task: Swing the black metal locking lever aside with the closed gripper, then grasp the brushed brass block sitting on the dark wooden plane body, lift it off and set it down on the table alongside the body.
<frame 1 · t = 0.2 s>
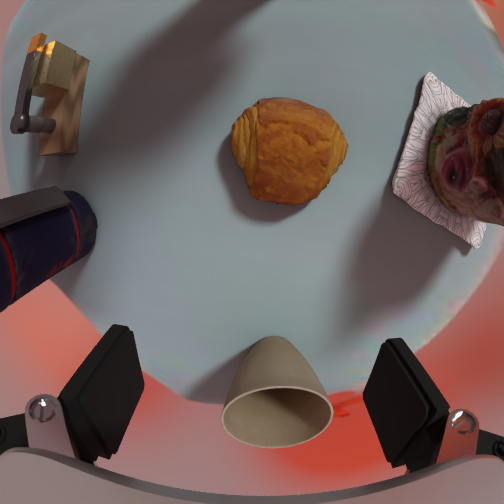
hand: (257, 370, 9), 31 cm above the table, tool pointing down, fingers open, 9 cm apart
croissant: (285, 152, 36), on the table
lever: (26, 81, 21), point 12 cm above the table, hinge at 0.0°
brushed brass block: (58, 74, 27), point 5 cm above the table, touching plane body
cookie jar: (456, 162, 35), on the table
plane body: (71, 106, 33), on the table
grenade: (76, 219, 39), on the table
plant pot: (272, 352, 46), on the table
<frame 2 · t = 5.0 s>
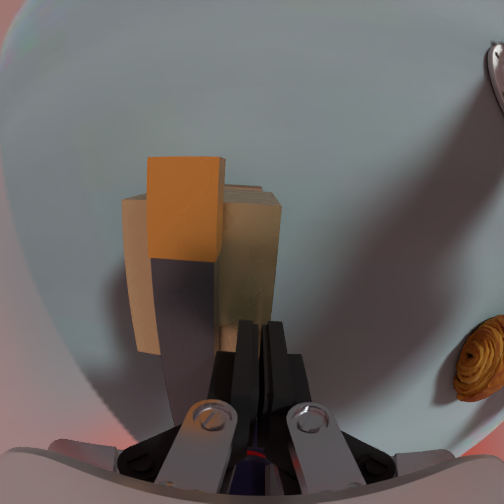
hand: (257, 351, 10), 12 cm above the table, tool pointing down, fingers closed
croissant: (484, 348, 26), on the table
lever: (191, 367, 10), point 12 cm above the table, hinge at 0.1°, touching gripper
brushed brass block: (216, 248, 16), point 5 cm above the table, touching plane body
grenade: (238, 430, 29), on the table
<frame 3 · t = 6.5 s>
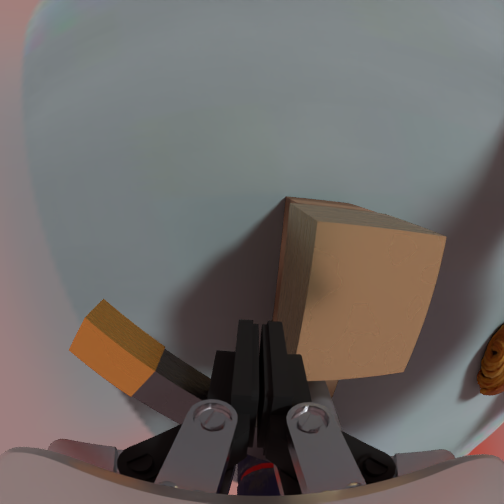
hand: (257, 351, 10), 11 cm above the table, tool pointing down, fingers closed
croissant: (502, 347, 26), on the table
lever: (242, 427, 10), point 12 cm above the table, hinge at 53.3°, touching gripper
brushed brass block: (332, 266, 16), point 5 cm above the table, touching plane body
plane body: (304, 303, 22), on the table
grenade: (290, 439, 28), on the table
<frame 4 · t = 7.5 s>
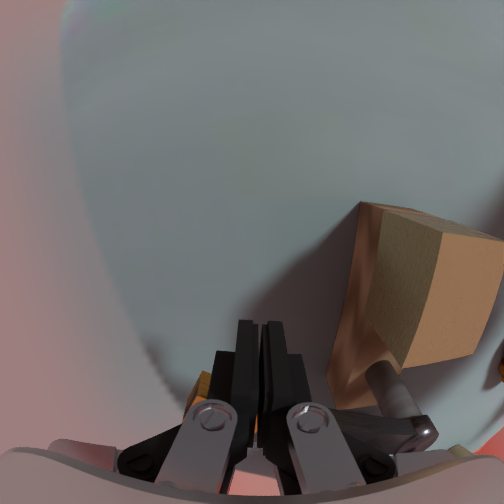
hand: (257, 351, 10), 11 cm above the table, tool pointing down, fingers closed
lever: (342, 434, 11), point 12 cm above the table, hinge at 68.4°, touching gripper
brushed brass block: (411, 266, 16), point 5 cm above the table, touching plane body
plane body: (369, 301, 22), on the table
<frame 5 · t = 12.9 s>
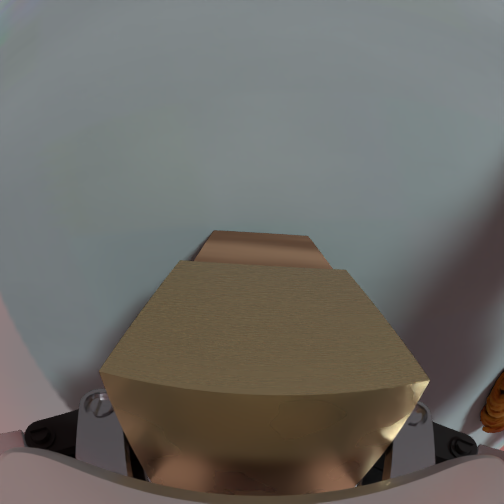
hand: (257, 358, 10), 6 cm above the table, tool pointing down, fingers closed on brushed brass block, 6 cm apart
brushed brass block: (257, 346, 11), point 5 cm above the table, touching gripper, plane body
plane body: (251, 361, 17), on the table
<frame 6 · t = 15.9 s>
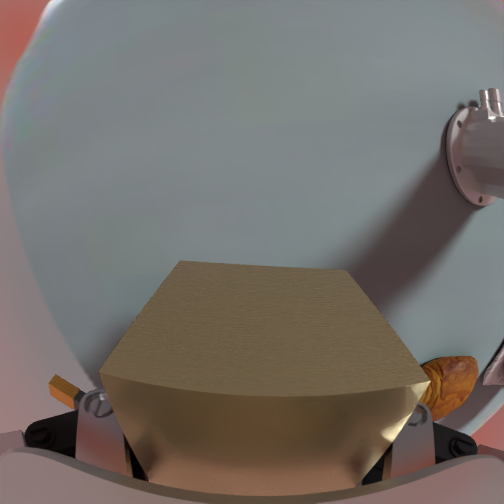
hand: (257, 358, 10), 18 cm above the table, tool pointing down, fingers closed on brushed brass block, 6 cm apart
croissant: (432, 380, 34), on the table
lever: (119, 422, 19), point 12 cm above the table, hinge at 70.5°
brushed brass block: (257, 346, 11), point 17 cm above the table, touching gripper
when the fingers open (2 cm above the table, at t = 19.0 s): brushed brass block drops 2 cm, on the table.
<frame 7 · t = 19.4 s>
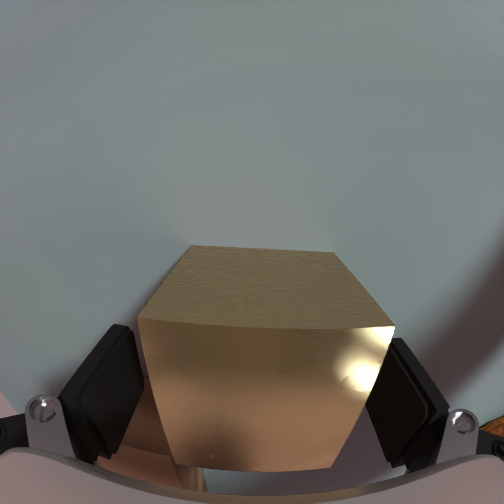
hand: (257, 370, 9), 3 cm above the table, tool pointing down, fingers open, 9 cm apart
croissant: (472, 442, 19), on the table
brushed brass block: (258, 320, 12), on the table
plane body: (168, 449, 16), on the table
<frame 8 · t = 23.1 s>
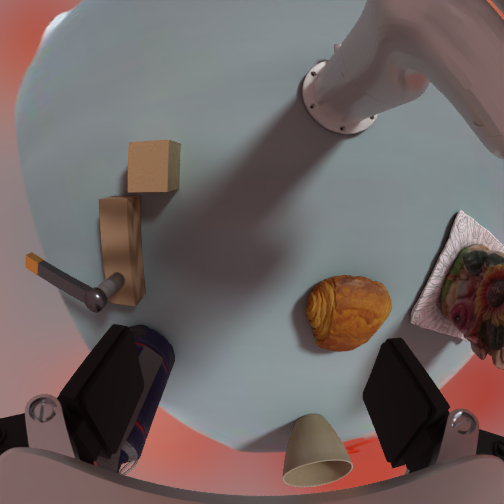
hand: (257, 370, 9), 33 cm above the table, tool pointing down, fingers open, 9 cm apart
croissant: (343, 307, 46), on the table
lever: (62, 281, 31), point 12 cm above the table, hinge at 70.5°
brushed brass block: (161, 166, 39), on the table
cookie jar: (464, 281, 44), on the table
plane body: (128, 246, 43), on the table
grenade: (150, 344, 49), on the table
plant pot: (309, 422, 55), on the table
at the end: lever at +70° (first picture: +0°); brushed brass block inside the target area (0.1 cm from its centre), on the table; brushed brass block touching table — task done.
